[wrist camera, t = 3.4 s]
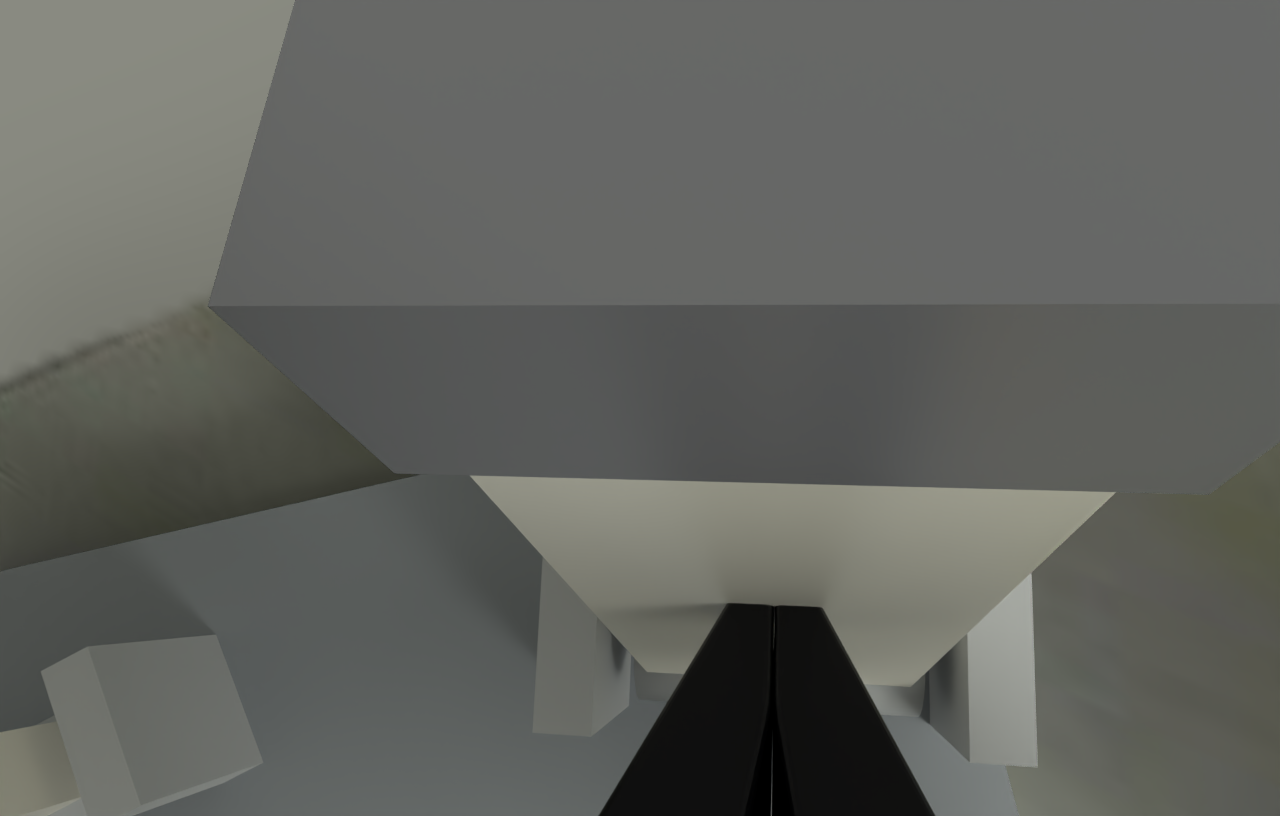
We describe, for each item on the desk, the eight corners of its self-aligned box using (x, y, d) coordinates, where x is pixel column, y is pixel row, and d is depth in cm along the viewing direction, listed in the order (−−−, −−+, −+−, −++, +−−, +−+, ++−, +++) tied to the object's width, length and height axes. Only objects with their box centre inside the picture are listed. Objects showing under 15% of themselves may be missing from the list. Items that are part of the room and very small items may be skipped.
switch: (910, 721, 14) (1477, 335, 3) (647, 705, 15) (199, 331, 3) (906, 602, 15) (1340, -106, 3) (654, 591, 15) (308, -46, 4)
